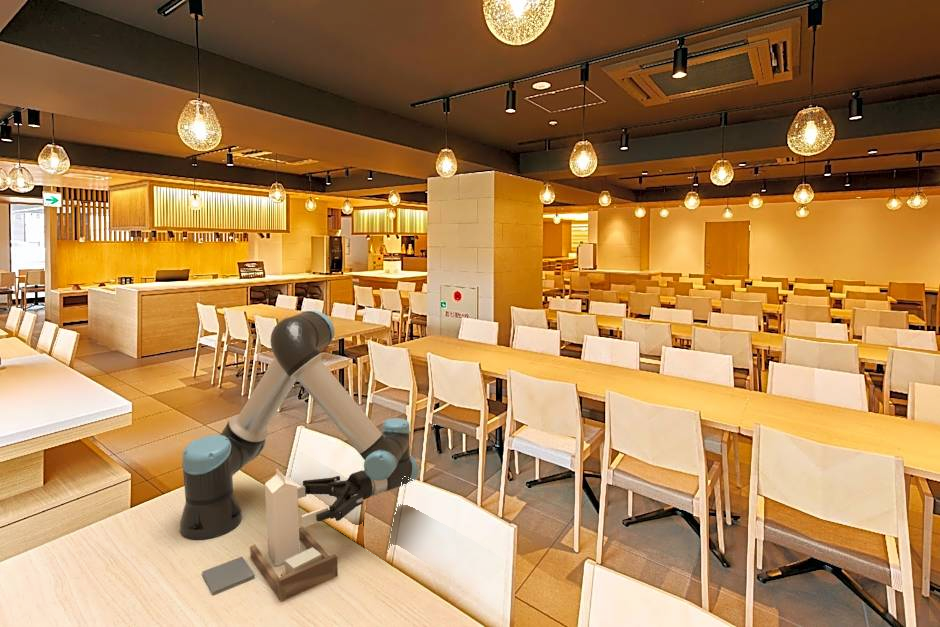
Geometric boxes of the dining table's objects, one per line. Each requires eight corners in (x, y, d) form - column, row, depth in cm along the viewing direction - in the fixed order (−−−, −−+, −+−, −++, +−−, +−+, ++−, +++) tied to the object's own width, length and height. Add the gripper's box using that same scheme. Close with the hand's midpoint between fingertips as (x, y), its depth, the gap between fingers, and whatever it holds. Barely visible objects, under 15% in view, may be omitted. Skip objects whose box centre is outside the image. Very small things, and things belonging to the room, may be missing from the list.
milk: (275, 566, 123) (271, 481, 120) (268, 554, 128) (263, 471, 125) (300, 557, 127) (296, 473, 124) (292, 545, 132) (288, 464, 128)
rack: (250, 557, 127) (249, 538, 126) (303, 537, 135) (302, 519, 135) (280, 601, 112) (280, 580, 111) (337, 575, 120) (337, 556, 120)
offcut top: (285, 572, 117) (284, 560, 117) (313, 558, 122) (312, 547, 122) (294, 580, 115) (293, 568, 114) (322, 566, 120) (321, 554, 119)
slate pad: (202, 574, 120) (202, 571, 120) (242, 559, 126) (242, 556, 126) (212, 595, 113) (212, 592, 113) (254, 578, 119) (254, 574, 119)
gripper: (391, 515, 132) (312, 547, 118) (345, 479, 150) (272, 503, 136) (391, 487, 131) (311, 516, 117) (344, 455, 149) (271, 477, 135)
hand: (290, 509), depth 127 cm, fingers open, 13 cm apart
